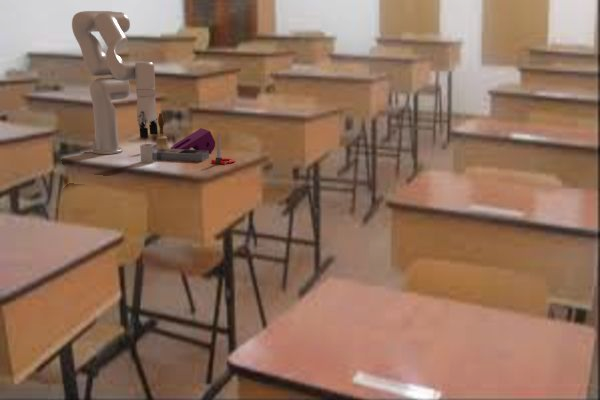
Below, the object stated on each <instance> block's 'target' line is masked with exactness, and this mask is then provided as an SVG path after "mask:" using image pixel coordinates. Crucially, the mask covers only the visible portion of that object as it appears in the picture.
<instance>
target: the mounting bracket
mask: <svg viewBox="0 0 600 400" xmlns="http://www.w3.org/2000/svg"><path fill="white" fill-rule="evenodd" d="M170 147H171V149H184V150H208V151H209V152H210V153H212V152H213V151H214V149H215V147H216V141H215V139H214V136H213V135H212V133H211V131H210V130H209V129H205V128H202V127H201V128H199V129H198V130H197V129H196V131H193V132H192V133H190V134H189V135H188V136H185V138H182V139H181V140H180V141H177V142H175V144H173V145H172V146H170Z"/></svg>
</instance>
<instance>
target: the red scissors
mask: <svg viewBox="0 0 600 400" xmlns="http://www.w3.org/2000/svg"><path fill="white" fill-rule="evenodd" d="M221 142H222V141H221V132H220V131H217V151H216V157H215V159H211V161H210V162H211V163H212V164H216V165H223V166H225V165H227V164H233V163H232V162H234V163H236V159H234V158H228V157H227V158H226V157H225V158H224V157H223V158H222V157H221V156H222V151H221ZM223 160H231V161H223Z"/></svg>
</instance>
